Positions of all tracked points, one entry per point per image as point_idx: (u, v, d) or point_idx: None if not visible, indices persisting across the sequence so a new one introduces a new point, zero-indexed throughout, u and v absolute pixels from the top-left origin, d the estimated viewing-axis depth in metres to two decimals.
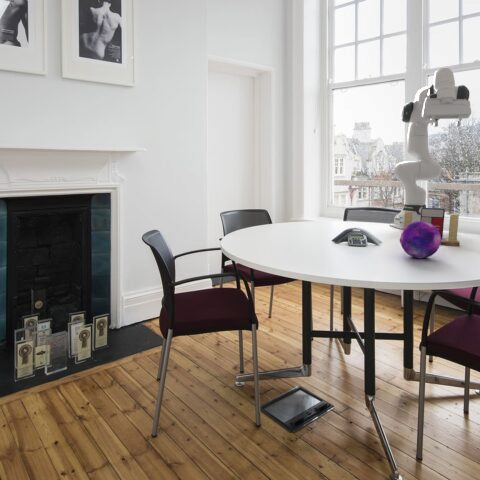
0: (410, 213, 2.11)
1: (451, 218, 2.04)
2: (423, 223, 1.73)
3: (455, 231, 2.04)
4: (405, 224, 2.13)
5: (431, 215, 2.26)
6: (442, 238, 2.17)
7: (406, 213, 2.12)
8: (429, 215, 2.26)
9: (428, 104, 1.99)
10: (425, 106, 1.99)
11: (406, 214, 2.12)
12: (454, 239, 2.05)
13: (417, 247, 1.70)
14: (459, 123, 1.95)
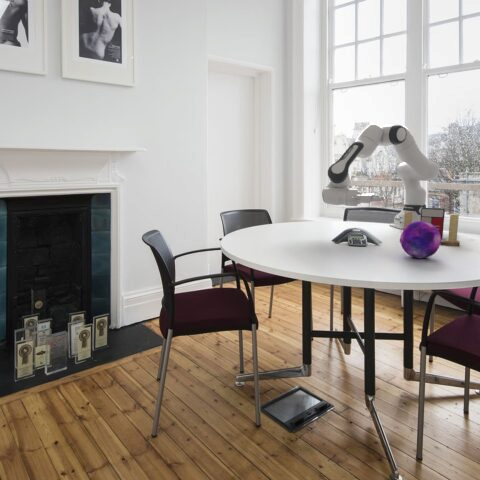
0: (410, 213, 2.11)
1: (451, 218, 2.04)
2: (423, 223, 1.73)
3: (455, 231, 2.04)
4: (405, 224, 2.13)
5: (431, 215, 2.26)
6: (442, 238, 2.17)
7: (406, 213, 2.12)
8: (429, 215, 2.26)
9: None
10: None
11: (406, 214, 2.12)
12: (454, 239, 2.05)
13: (417, 247, 1.70)
14: None
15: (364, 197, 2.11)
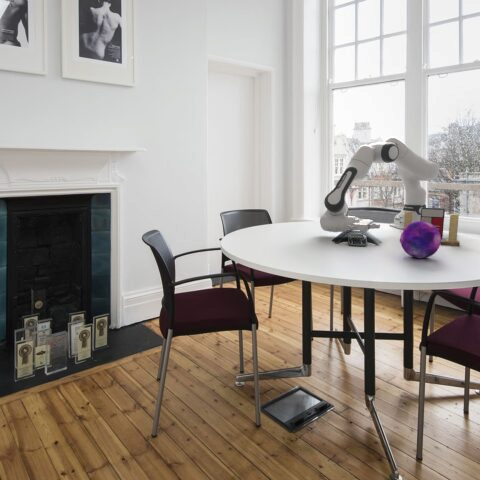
0: (410, 213, 2.11)
1: (451, 218, 2.04)
2: (423, 223, 1.73)
3: (455, 231, 2.04)
4: (405, 224, 2.13)
5: (431, 215, 2.26)
6: (442, 238, 2.17)
7: (406, 213, 2.12)
8: (429, 215, 2.26)
9: None
10: None
11: (406, 214, 2.12)
12: (454, 239, 2.05)
13: (417, 247, 1.70)
14: None
15: (361, 226, 2.14)
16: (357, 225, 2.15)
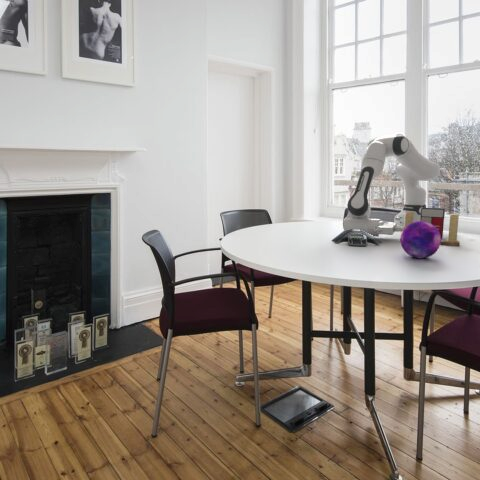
0: (411, 213, 2.11)
1: (451, 218, 2.04)
2: (423, 223, 1.73)
3: (455, 231, 2.04)
4: (406, 224, 2.13)
5: (431, 215, 2.26)
6: (442, 238, 2.17)
7: (407, 213, 2.12)
8: (429, 215, 2.26)
9: None
10: None
11: (407, 214, 2.12)
12: (454, 239, 2.05)
13: (417, 247, 1.70)
14: None
15: (386, 229, 2.09)
16: (382, 228, 2.10)
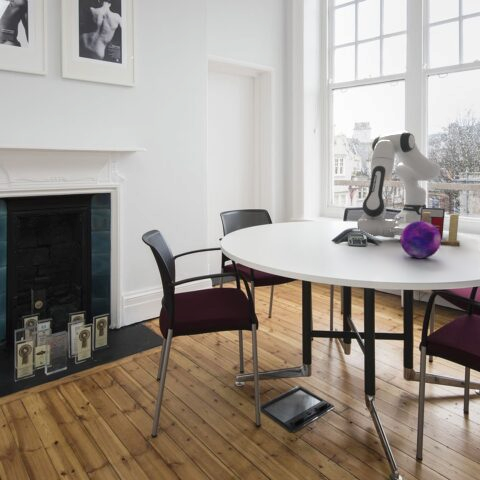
0: (428, 214, 2.08)
1: (451, 218, 2.04)
2: (423, 223, 1.73)
3: (455, 231, 2.04)
4: None
5: (431, 215, 2.26)
6: (442, 238, 2.17)
7: (424, 214, 2.09)
8: None
9: None
10: None
11: (424, 215, 2.09)
12: (454, 239, 2.05)
13: (418, 247, 1.70)
14: None
15: None
16: (399, 229, 2.07)
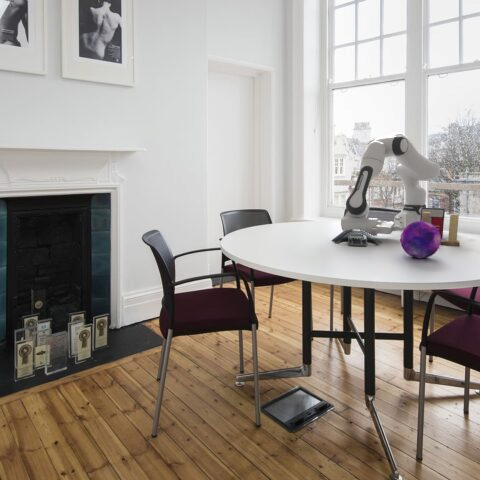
0: (428, 214, 2.08)
1: (451, 218, 2.04)
2: (423, 223, 1.73)
3: (455, 231, 2.04)
4: None
5: (431, 215, 2.26)
6: (442, 238, 2.17)
7: (424, 214, 2.09)
8: None
9: None
10: None
11: (424, 215, 2.09)
12: (454, 239, 2.05)
13: (418, 247, 1.70)
14: (401, 230, 2.15)
15: (385, 228, 2.09)
16: (380, 227, 2.10)
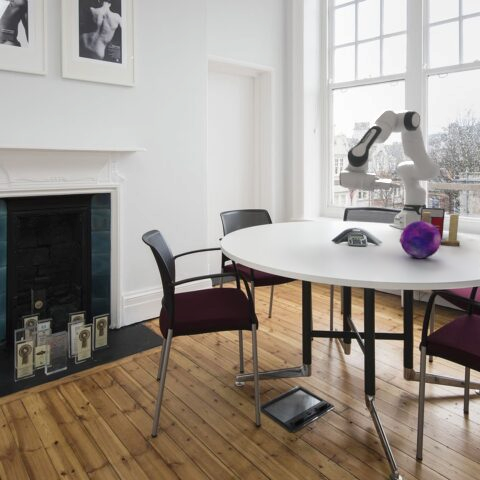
0: (428, 214, 2.08)
1: (451, 218, 2.04)
2: (423, 223, 1.73)
3: (455, 231, 2.04)
4: None
5: (431, 215, 2.26)
6: (442, 238, 2.17)
7: (424, 214, 2.09)
8: None
9: None
10: None
11: (424, 215, 2.09)
12: (454, 239, 2.05)
13: (417, 247, 1.70)
14: (398, 187, 2.15)
15: (383, 184, 2.09)
16: (379, 183, 2.10)
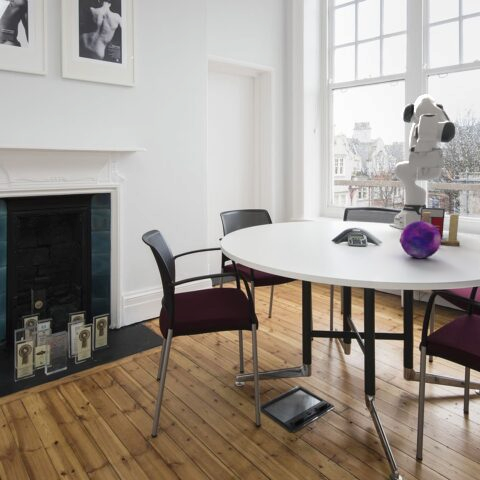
0: (428, 214, 2.08)
1: (451, 218, 2.04)
2: (423, 223, 1.73)
3: (455, 231, 2.04)
4: None
5: (431, 215, 2.26)
6: (442, 238, 2.17)
7: (424, 214, 2.09)
8: None
9: (411, 156, 2.20)
10: (409, 159, 2.21)
11: (424, 215, 2.09)
12: (454, 239, 2.05)
13: (418, 247, 1.70)
14: (424, 176, 2.13)
15: (442, 161, 2.04)
16: (442, 157, 2.04)
